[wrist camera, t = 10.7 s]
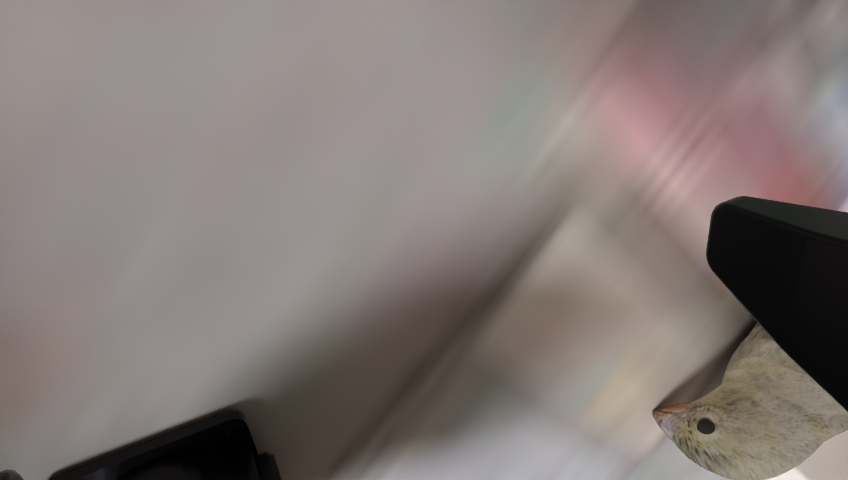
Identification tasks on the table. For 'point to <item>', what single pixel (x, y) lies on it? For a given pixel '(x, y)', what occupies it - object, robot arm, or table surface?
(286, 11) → the table surface
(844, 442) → the jar
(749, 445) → the decorative bird
